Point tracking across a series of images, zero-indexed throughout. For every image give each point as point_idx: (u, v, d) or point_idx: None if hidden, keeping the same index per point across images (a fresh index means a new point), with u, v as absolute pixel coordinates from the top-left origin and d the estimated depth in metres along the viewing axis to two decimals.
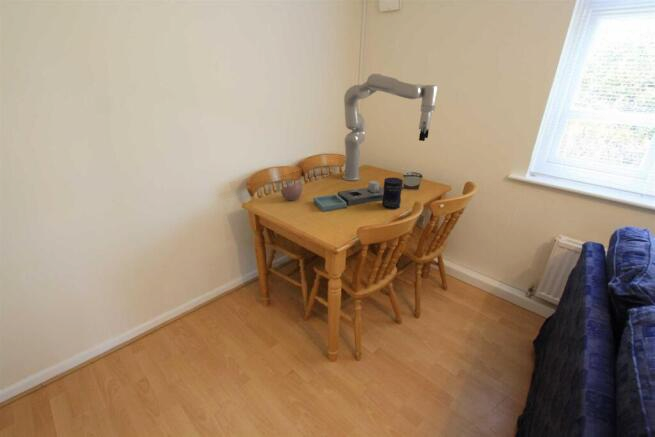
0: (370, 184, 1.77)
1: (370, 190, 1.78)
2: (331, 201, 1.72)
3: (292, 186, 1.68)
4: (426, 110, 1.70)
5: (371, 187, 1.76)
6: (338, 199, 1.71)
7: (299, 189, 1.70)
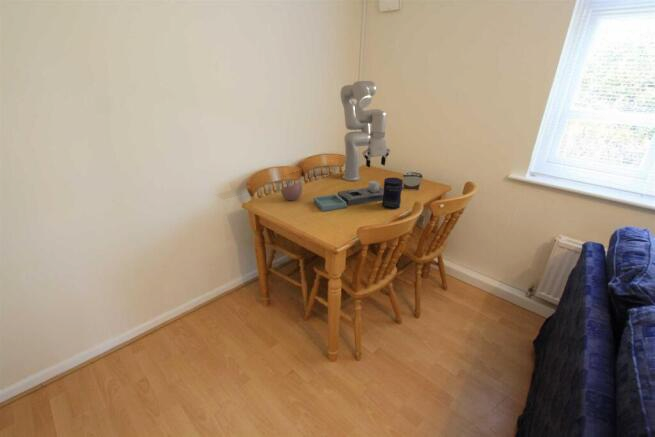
0: (370, 184, 1.77)
1: (370, 190, 1.78)
2: (331, 201, 1.72)
3: (292, 186, 1.68)
4: None
5: (371, 187, 1.76)
6: (338, 199, 1.71)
7: (299, 189, 1.70)
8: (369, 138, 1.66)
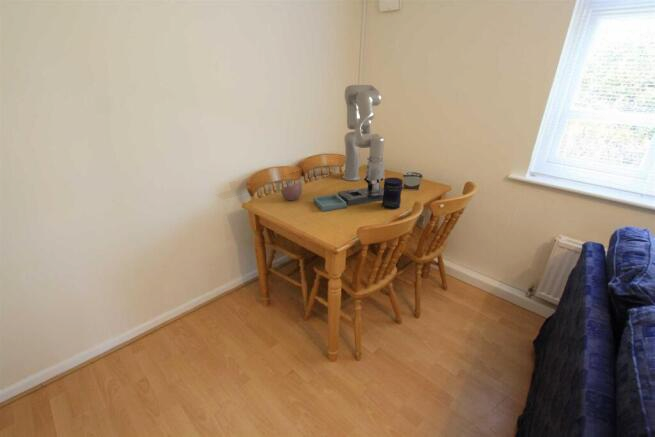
0: None
1: None
2: (331, 201, 1.72)
3: (292, 186, 1.68)
4: None
5: None
6: (338, 199, 1.71)
7: (299, 189, 1.70)
8: None
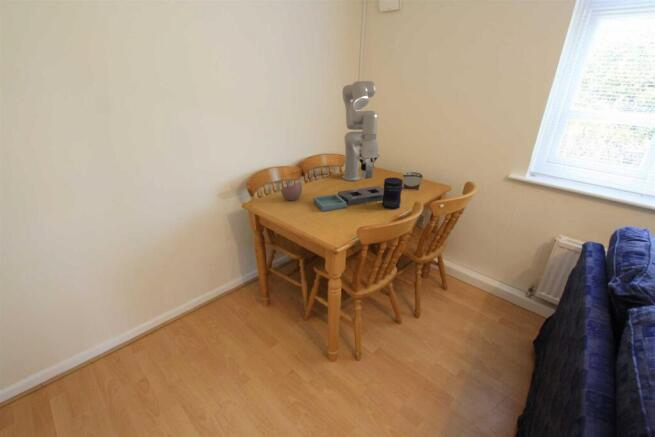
0: None
1: None
2: (331, 201, 1.72)
3: (292, 186, 1.68)
4: None
5: (365, 167, 1.68)
6: (338, 199, 1.71)
7: (299, 189, 1.70)
8: (360, 140, 1.64)
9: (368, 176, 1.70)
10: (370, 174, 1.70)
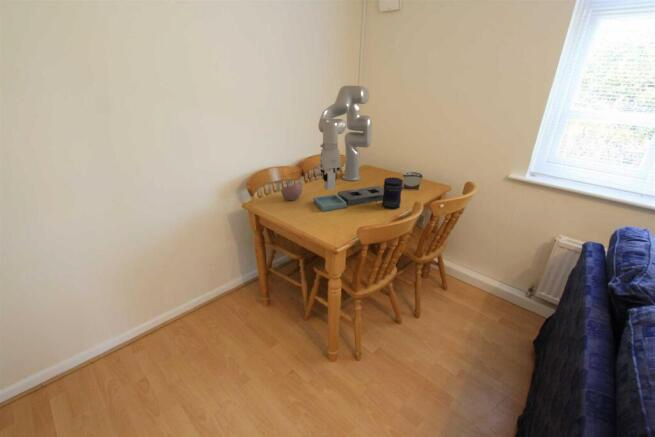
0: None
1: None
2: (331, 201, 1.72)
3: (292, 186, 1.68)
4: None
5: None
6: (338, 199, 1.71)
7: (299, 189, 1.70)
8: None
9: (330, 187, 1.62)
10: (333, 185, 1.62)
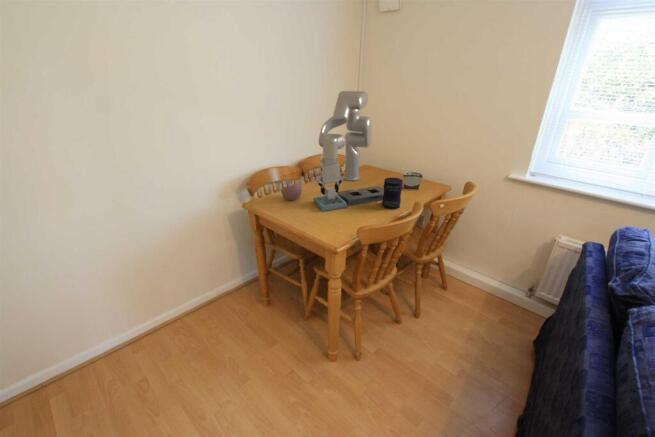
0: (326, 190, 1.64)
1: (326, 197, 1.66)
2: None
3: (292, 186, 1.68)
4: None
5: (327, 194, 1.64)
6: (338, 199, 1.71)
7: (299, 189, 1.70)
8: None
9: (331, 203, 1.66)
10: (333, 201, 1.66)
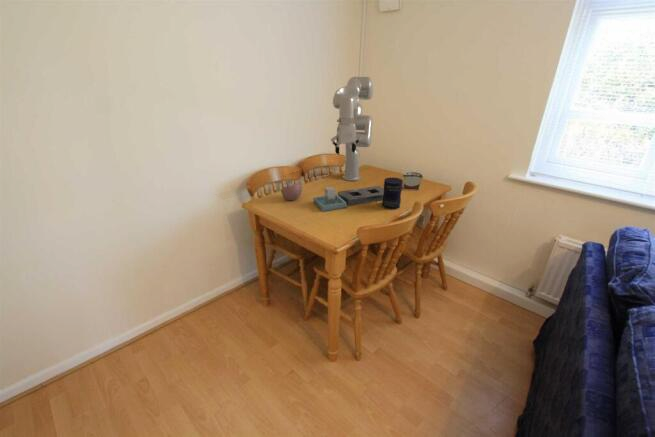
0: (326, 190, 1.64)
1: (326, 197, 1.66)
2: None
3: (292, 186, 1.68)
4: None
5: (327, 194, 1.64)
6: (338, 199, 1.71)
7: (299, 189, 1.70)
8: (338, 124, 1.62)
9: (331, 203, 1.66)
10: (333, 201, 1.66)
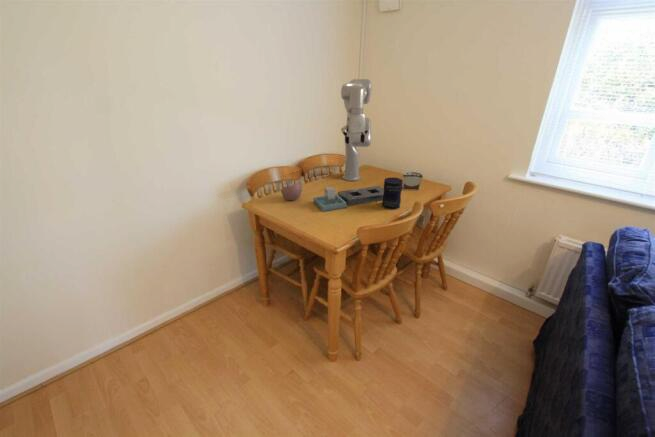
0: (326, 190, 1.64)
1: (326, 197, 1.66)
2: None
3: (292, 186, 1.68)
4: None
5: (327, 194, 1.64)
6: (338, 199, 1.71)
7: (299, 189, 1.70)
8: (348, 114, 1.67)
9: (331, 203, 1.66)
10: (333, 201, 1.66)
